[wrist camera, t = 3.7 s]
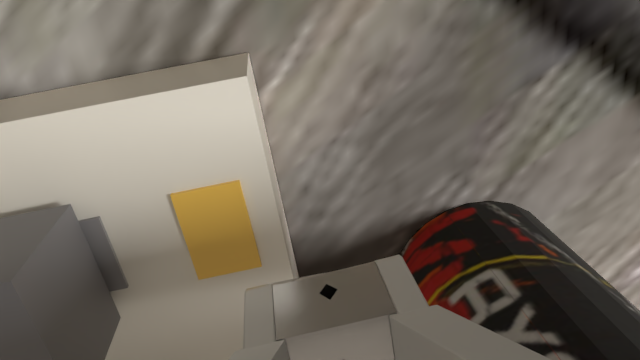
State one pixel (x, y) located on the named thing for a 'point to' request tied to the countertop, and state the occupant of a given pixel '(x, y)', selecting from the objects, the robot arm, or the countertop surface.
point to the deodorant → (521, 283)
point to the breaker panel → (159, 197)
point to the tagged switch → (52, 290)
